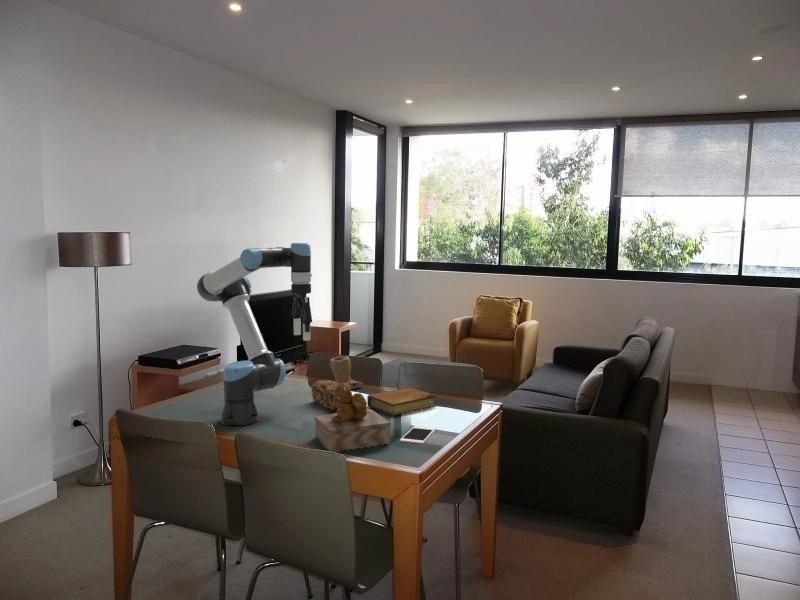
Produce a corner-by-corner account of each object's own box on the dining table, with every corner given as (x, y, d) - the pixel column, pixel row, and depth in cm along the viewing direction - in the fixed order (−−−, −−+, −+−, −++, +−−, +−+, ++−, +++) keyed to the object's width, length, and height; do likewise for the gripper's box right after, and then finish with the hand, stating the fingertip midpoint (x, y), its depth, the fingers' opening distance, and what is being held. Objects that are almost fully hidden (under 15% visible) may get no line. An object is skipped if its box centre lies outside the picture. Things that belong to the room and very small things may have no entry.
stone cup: (325, 386, 313) (325, 356, 311) (344, 382, 321) (344, 353, 319) (344, 392, 302) (344, 361, 300) (363, 388, 309) (363, 357, 308)
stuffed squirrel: (337, 413, 239) (337, 378, 238) (373, 416, 235) (373, 381, 234) (327, 420, 230) (326, 385, 228) (363, 424, 226) (363, 388, 224)
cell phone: (436, 430, 246) (436, 428, 246) (422, 445, 229) (422, 442, 229) (414, 428, 249) (414, 425, 249) (399, 442, 232) (399, 439, 232)
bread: (311, 402, 285) (310, 380, 284) (331, 398, 291) (331, 376, 290) (332, 411, 270) (332, 388, 269) (353, 407, 276) (353, 385, 275)
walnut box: (330, 453, 220) (329, 430, 219) (314, 437, 236) (314, 416, 235) (390, 444, 229) (390, 422, 228) (371, 429, 246) (371, 409, 245)
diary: (408, 399, 292) (408, 386, 291) (435, 408, 277) (435, 395, 277) (367, 407, 278) (367, 394, 277) (393, 417, 263) (393, 403, 263)
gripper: (320, 285, 236) (320, 342, 238) (302, 280, 258) (302, 332, 261) (300, 286, 233) (301, 343, 235) (283, 280, 255) (284, 333, 258)
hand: (301, 337), depth 248 cm, fingers open, 13 cm apart
